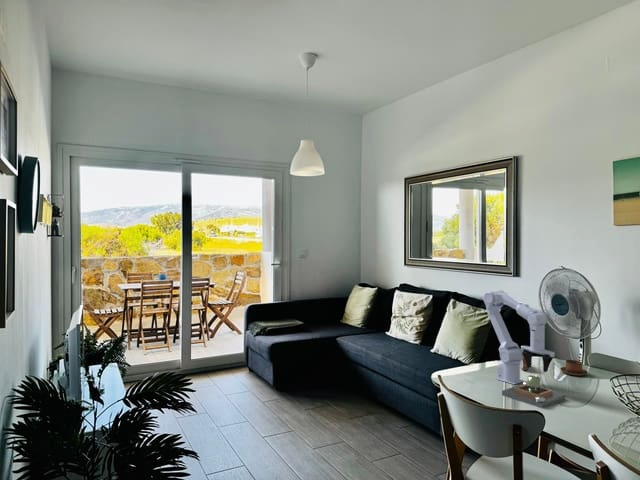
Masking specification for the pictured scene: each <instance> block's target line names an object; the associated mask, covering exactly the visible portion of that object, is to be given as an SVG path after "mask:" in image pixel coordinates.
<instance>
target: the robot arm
mask: <svg viewBox="0 0 640 480" xmlns="http://www.w3.org/2000/svg"><path fill="white" fill-rule="evenodd" d="M482 300H483V302H484V304H485V308H486V312H487V316H488V317H489V318H488V319H489V320H490V322H491V325H492V326H493V327H492V328H493V329H494V332H495V334H496V336H497V339H498V341H499V344H500V346H499V348H498V351H499V358H500V361H499V362H498V364H497V378H496V380H498V381H502V382H505V383H508V384H511V385H517V384H520V383H523V381H524V380H523V379H520V377H521V374H520V372H521V370H520V369H521V368H520V363H521V360H522V359H523V356H524V358H525V360H526V364H527V368H528V369H530V368H532V363H533V362H532V361H533V360H532V358H533V353H534V354H538V355H542V356H541V360H542V362H543V363H542V364H543V365H542V366H543V373H547V372H548V371H549V368H550V364H551V362H552V361H553V359H554V357H555V351H552V350H548V349H545V346H546V345H545V341H546V340H545V338H546V336H545V334H546V333H545V328H546V326H545V325H547V323H548V316H547V315H546V314H545V312H541V311H537V309H534V308H532V307H531V306H529V304H528V303H519V302H518V301H517V300H515V299H514V298H512V297H511V296H510V295H509V294H508V292H505V291H504V290H494V291H489V290H488V291H486V292H485V293H484V295H483V298H482ZM504 304H505V305H506V306H508V307H510V308H512V309H513V310H515V311H516V314H518V315H519V316H520V317H522V318H523V319H524V320H526V321H527V322H528V323H527V324H529V330H530V337H529V339H530V342H529V343H530V346H528V345H521V346H520V347H519V345H518V343H516V342H514V341H513V339H512V337H511V335H510V332H509V331H508V328H507V326H506V324H505V321H504V320H503V316H502V315H501V313H500V311H501V309H502V307H503V306H504ZM522 351H523V352H522Z"/></svg>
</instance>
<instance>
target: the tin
mask: <svg viewBox="0 0 640 480" xmlns="http://www.w3.org/2000/svg"><path fill="white" fill-rule="evenodd" d="M522 352H523V351H522ZM520 369H521V370H522V371H528V370H529V368H527V364H526V360H525V358H524V356H523V359H522V360H521V363H520Z"/></svg>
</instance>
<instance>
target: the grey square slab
mask: <svg viewBox="0 0 640 480" xmlns="http://www.w3.org/2000/svg"><path fill="white" fill-rule="evenodd" d="M527 384H528V380H523V382H522V384H518V385H515V386H512V387H509V388H506V389H503V390H501V396H503V397H507V398H510V399H513V400H515V401H519V402H521V403H525V404H527V405H530V406H534V407H537V408H540V409H545V408H546V407H550V406H552V405H554V404H557V403H560V402H562V401H565V400H566V394H565V393H561V392H557V391H554V390H553V389H549V388H546V387H543V386H540V394H535V393H532V392H529V391H527Z"/></svg>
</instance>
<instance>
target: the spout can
mask: <svg viewBox="0 0 640 480" xmlns="http://www.w3.org/2000/svg"><path fill="white" fill-rule="evenodd" d="M527 381H528V384H527V391H529V392H532V393H535V394H540V387H541V377H540V376H539V375H537V374H536V375H531V374H530V375H529V374H528V376H527Z"/></svg>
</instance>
